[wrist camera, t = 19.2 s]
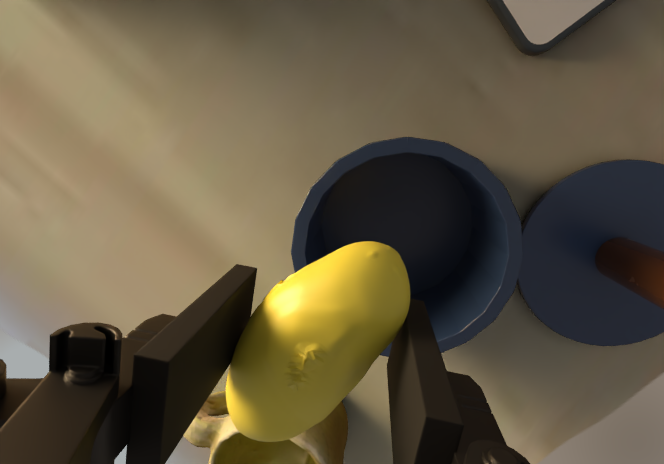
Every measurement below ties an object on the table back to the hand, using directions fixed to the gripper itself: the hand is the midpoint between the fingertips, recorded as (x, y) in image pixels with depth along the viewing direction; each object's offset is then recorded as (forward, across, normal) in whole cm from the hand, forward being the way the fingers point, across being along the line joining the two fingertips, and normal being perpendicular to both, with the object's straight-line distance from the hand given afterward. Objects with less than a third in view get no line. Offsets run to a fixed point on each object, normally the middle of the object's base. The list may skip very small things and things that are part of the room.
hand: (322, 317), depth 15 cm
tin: (+17, +3, +1) cm, 17 cm away
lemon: (0, 0, 0) cm, 1 cm away
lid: (+16, +19, +2) cm, 25 cm away
